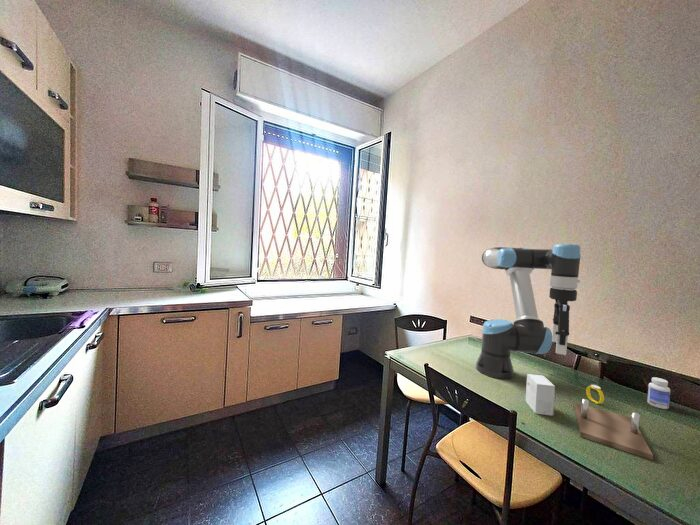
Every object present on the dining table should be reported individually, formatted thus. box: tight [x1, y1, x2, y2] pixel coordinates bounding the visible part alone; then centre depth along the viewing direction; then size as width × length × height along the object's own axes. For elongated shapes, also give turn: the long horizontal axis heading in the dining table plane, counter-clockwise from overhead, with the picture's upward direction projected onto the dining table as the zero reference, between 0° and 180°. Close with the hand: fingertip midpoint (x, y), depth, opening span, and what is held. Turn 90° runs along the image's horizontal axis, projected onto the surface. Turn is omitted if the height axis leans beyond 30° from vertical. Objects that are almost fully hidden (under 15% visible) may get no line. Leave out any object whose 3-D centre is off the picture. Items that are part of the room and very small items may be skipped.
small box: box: [525, 373, 556, 417], centre depth 96 cm, size 8×6×10 cm
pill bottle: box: [646, 376, 671, 410], centre depth 101 cm, size 5×5×10 cm
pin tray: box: [573, 398, 654, 461], centre depth 86 cm, size 15×20×8 cm
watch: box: [585, 384, 605, 405], centre depth 102 cm, size 6×3×6 cm, turn 2°
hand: (558, 347), depth 97 cm, fingers open, 13 cm apart
